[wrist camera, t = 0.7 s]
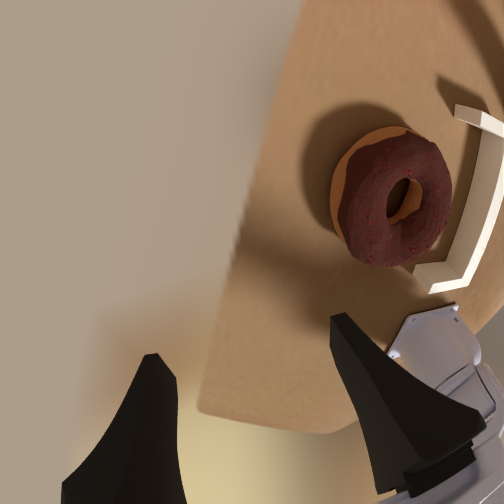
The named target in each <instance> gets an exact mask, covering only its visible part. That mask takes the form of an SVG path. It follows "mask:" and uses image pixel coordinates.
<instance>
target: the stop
mask: <svg viewBox="0 0 504 504" xmlns="http://www.w3.org/2000/svg"><path fill="white" fill-rule="evenodd" d="M454 118H457V119H459V120H462V121H464V122H466V123H469V124H471V125H473V126H475V127H478V128H480V129H482V135H481V141H480V146H479V152H478V157H477V162H476V166H475V171H474V175H473V179H472V183H471V187H470V191H469V194H468V198H467V201H466V205H465V208H464V211H463V214H462V218H461V221H460V224H459V227H458V229H457V232H456V235H455V238H454V241H453V243H452V246H451V248H450V251H449V254H448V256H447V259H446V261H443V262H434V263H424V264H416V266H415V269H414V271H413V274H412V275H413V276H414V277H415V279H416V280H417V281H418V282H419V283H420V285H421V286H422V287H423V288H424V289H425V291H426V292H427V293H428V294H432V293H437V292H442V291H447V290H451V289H456V288H461V287H465V286H468V285H469V283H470V281H471V279H472V277H473V274H474V272H475V270H476V268H477V266H478V264H479V261H480V259H481V257H482V255H483V252H484V250H485V247H486V245H487V242H488V240H489V237H490V235H491V232H492V229H493V227H494V224H495V221H496V218H497V215H498V212H499V209H500V206H501V202H502V199H503V196H504V123H502V122H500V121H499V120H497V119H495V118H494V117H492V116H490V115H488V114H487V113H485V112H483V111H480V110H477V109H473V108H470V107H466V106H462V105H459V104H455V112H454Z"/></svg>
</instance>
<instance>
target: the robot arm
mask: <svg viewBox="0 0 504 504" xmlns="http://www.w3.org/2000/svg"><path fill="white" fill-rule="evenodd" d="M457 309H458V305H457V304H454V305H450V306H447V307H443V308H439V309H435V310H431V311H427V312H422V313H418V314H414V315H410V316H408V317H407V318H406V320H405V322H404V324H403V326H402V328H401V330H400V332H399V333H398V335H397V337H396V339H395V341H394V342H393V344H392V346H391V348H390V349H389V351H388V353H387V354H386V353H385V352H384V351H383V350H382V349H381V348H379V347H378V346H377V345H376V344H375V343H374V342H373V341H372V340H371V339H370V338H369V337H368V336H367V335H366V334H365V333H364V332H363V331H362V330H361V329H360V328H359V327H358V326H357V324H356V323H355V322H354V321H353V320H352V319H351V318H350V317H349V315H348V314H347V313H345V312H344V313H341V314H337V315H334V316H330V349H331V352H332V355H333V358H334V361H335V364H336V367H337V369H338V372H339V374H340V376H341V378H342V381H343V383H344V385H345V387H346V389H347V392H348V394H349V396H350V398H351V401H352V403H353V405H354V407H355V410H356V412H357V415H358V418H359V421H360V425H361V428H362V431H363V434H364V438H365V442H366V446H367V449H368V453H369V458H370V462H371V466H372V471H373V476H374V482H375V487H376V490H377V493H378V495H379V494H383V493H386V492H389V491H391V490H394V489H396V492H397V494H396V495H394V496H391V497H389V498H387V499H384V500H382V501H379V502H377V503H374V504H504V447H503V444H502V442H501V440H500V437H501V435H502V432H503V430H504V390H503V388H502V386H501V384H500V383H499V381H498V379H497V378H496V376H495V374H494V373H493V372H492V370H491V369H490V367H489V366H488V365H487V364H486V363H480V360H481V348H480V345H479V342H478V340H477V339H476V337H475V336H474V334H473V333H472V332H471V330H470V329H469V328H468V326H467V325H466V324H465V322H464V321H463V320H462V318H461V317H460V316H459V314H458V313H457V312H456V311H457ZM396 357H401V358H402V360H403V362H404V364H405V366H406V368H407V369H408V371H409V372H408V371H406V370H405V369H404V368H402V367H401V366H400V365H399V364H398V363H396V362H395V361H394V360H393V358H396ZM494 411H496V412H495V414H494V416H493V417H492V418H491V419H490V420H488V421H487V422H486V423H485V421H484V420H485V419H486V418H487V417H488V416H490V415H491V414H492V413H493V412H494ZM177 413H178V393H177V383H176V377H175V376H174V375H173V373H172V372H171V371H170V369H169V368H168V367H167V365H166V364H165V363H164V361H163V360H162V359H161V357H160V356H159V354H158V353H155V354H147V355H145V356H144V357H143V359H142V362H141V364H140V366H139V368H138V370H137V373H136V374H135V377H134V379H133V381H132V383H131V386H130V387H129V389H128V392H127V394H126V396H125V398H124V400H123V402H122V404H121V406H120V408H119V409H118V411H117V413H116V415H115V417H114V419H113V421H112V422H111V424H110V426H109V427H108V429H107V430H106V432H105V434H104V435H103V437H102V438H101V440H100V441H99V442H98V444H97V445H96V447H95V448H94V449H93V451H92V452H91V453H90V454H89V456H88V457H87V458H86V459H85V460H84V461H83V462H82V464H81V465H80V466H79V467H78V468H77V469H76V470H75V471H74V472H73V473H72V474H71V475H70V476H69V477H68V478H67V479H66V480H64V481H63V482H62V490H61V504H187V502H186V498H185V494H184V489H183V485H182V481H181V475H180V468H179V461H178V453H177V416H178V414H177Z"/></svg>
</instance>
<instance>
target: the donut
mask: <svg viewBox="0 0 504 504" xmlns="http://www.w3.org/2000/svg"><path fill="white" fill-rule="evenodd" d="M403 178H409V179H410V184H409V188H408V191H407V194H406V196H405V198H404V200H403V203H402V205H401V207H400V208H399V210H398V211H397V213H396V214H395V215H393V216H392V217H389V218H387V216H386V215H387V214H386V209H387V199H388V196H389V192H391V190H392V188H393V187H394V185H395V184H396V183H397V182H398V181H400V180H401V179H403ZM451 197H452V182H451V178H450V173H449V170H448V168H447V165H446V163H445V161H444V158H443V156H442V154H441V152H440V150H439V148H438V147H437V145H436V144H435V143H433V142H430V141H428V140H427V139H426V138H424V137H422V136H421V135H420V134H418V133H417V132H415V131H413V130H410V129H408V128H404V127H400V126H389V127H385V128H380V129H377V130H375V131H373V132H370V133H368V134H366V135H365V136H364V137H362V138H361V139H360V140H358V141H357V142H356V143H355V144H354V145H353V146H352V147H351V148H350V149H349V150H348V152H347V153H346V154H345V155H344V156H343V157H342V158H341V160H340V161H339V163H338V165H337V167H336V168H335V171H334V174H333V178H332V182H331V191H330V211H331V217H332V221H333V224H334V228H335V230H336V232H337V234H338V236H339V237H340V239H341V240H342V241H343V242H344V243H345V244H346V245H347V247H348V250H349V251H350V253H351V254H352V256H353V257H355V258H357V259H358V260H360V261H362V262H364V263H367V264H371V265H375V266H389V267H390V266H395V265H396V266H397V265H401V264H405V263H408V262H411V261H413V260H415V259H418V258H419V257H420V256H422V255H423V254H424V253H426V252H428V251H427V250H429V249H430V248H431V246H432V245H434V243H435V241H436V240H437V238H438V237H439V235H440V234H441V232H442V231H443V228H444V227H445V226H446V224H447V219H448V217H449V211H450V206H451Z"/></svg>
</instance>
